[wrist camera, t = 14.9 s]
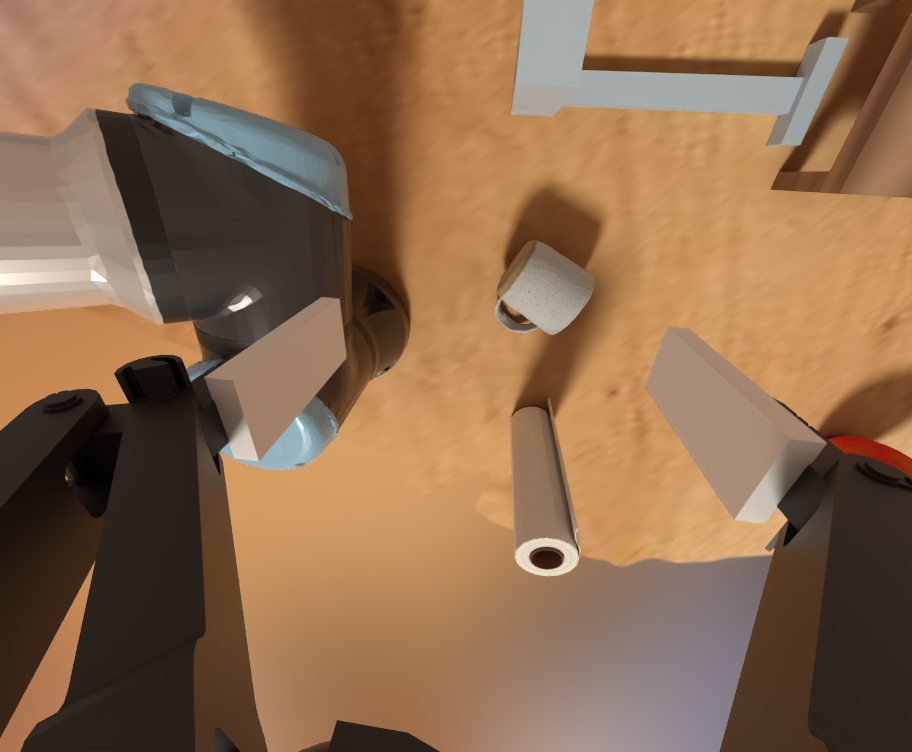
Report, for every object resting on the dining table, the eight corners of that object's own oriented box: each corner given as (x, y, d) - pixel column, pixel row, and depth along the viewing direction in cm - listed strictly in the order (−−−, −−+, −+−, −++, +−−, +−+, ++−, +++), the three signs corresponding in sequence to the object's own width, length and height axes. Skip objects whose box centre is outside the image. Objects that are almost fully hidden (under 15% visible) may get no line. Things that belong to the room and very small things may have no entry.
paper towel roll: (520, 442, 53) (530, 583, 35) (502, 414, 51) (503, 548, 33) (565, 427, 51) (601, 569, 33) (549, 396, 49) (578, 530, 30)
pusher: (508, 133, 34) (512, 113, 23) (518, 37, 31) (528, -42, 19) (784, 146, 32) (933, 132, 21) (828, 45, 29) (1036, -36, 18)
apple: (880, 451, 47) (987, 528, 37) (805, 480, 51) (882, 557, 41) (856, 407, 44) (963, 478, 34) (778, 441, 48) (854, 514, 38)
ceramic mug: (529, 229, 38) (534, 242, 32) (588, 268, 40) (605, 288, 33) (479, 307, 44) (474, 331, 37) (532, 339, 45) (537, 368, 38)
